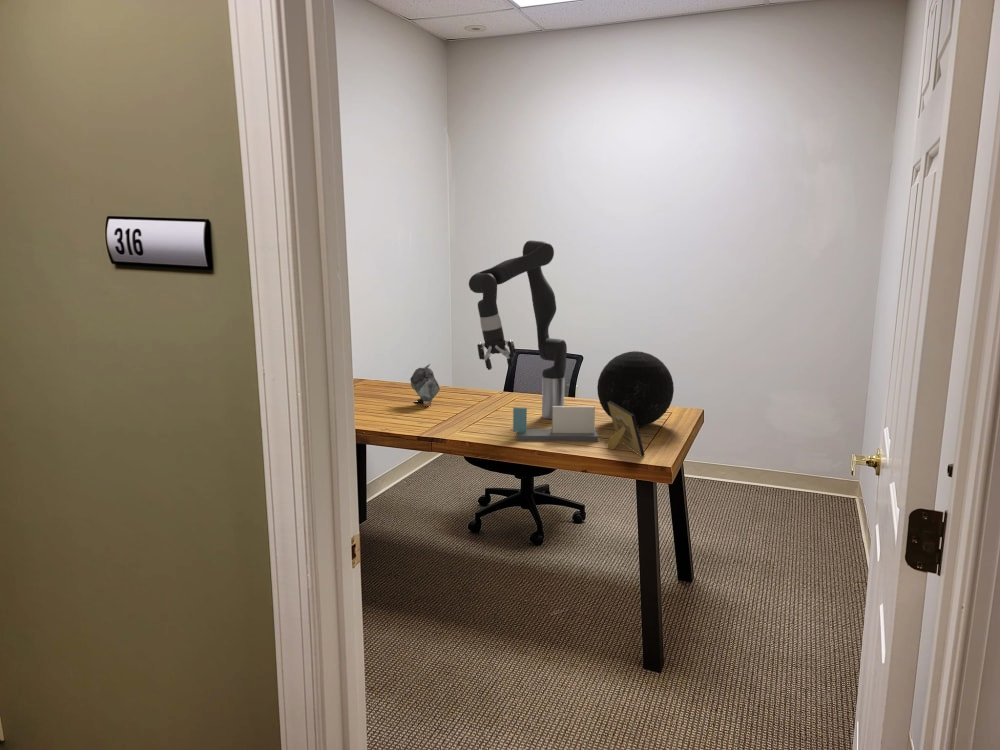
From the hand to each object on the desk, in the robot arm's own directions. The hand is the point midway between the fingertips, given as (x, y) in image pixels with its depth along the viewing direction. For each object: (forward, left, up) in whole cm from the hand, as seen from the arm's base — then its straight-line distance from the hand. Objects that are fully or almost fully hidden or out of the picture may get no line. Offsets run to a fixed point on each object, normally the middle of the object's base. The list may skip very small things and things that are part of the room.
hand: (500, 368), depth 263 cm
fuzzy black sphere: (-17, +53, -26) cm, 62 cm away
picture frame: (+16, +43, -26) cm, 53 cm away
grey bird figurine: (-51, -36, -26) cm, 67 cm away
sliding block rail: (+3, +21, -26) cm, 34 cm away
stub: (+3, +8, -23) cm, 25 cm away
